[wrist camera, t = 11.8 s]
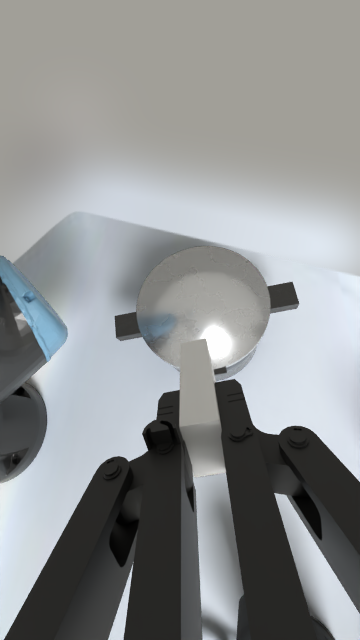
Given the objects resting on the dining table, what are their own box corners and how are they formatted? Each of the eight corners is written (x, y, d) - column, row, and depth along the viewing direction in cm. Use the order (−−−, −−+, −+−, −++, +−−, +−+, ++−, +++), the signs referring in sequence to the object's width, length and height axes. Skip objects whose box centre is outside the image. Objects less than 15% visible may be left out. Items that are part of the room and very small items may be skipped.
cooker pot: (140, 393, 45) (116, 383, 36) (133, 302, 51) (110, 274, 41) (297, 367, 43) (315, 350, 33) (272, 275, 48) (280, 238, 39)
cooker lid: (145, 387, 35) (142, 386, 34) (134, 265, 41) (131, 260, 40) (286, 364, 33) (287, 362, 32) (252, 240, 39) (253, 234, 38)
